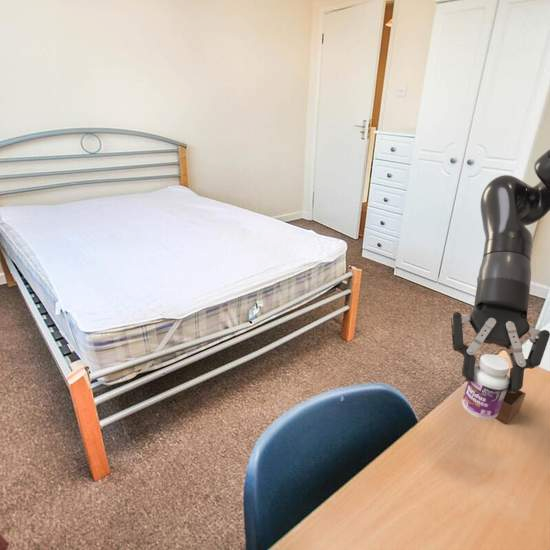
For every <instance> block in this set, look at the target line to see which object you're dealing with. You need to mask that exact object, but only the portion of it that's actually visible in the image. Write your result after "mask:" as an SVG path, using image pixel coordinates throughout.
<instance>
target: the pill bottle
mask: <svg viewBox="0 0 550 550" xmlns="http://www.w3.org/2000/svg"><path fill="white" fill-rule="evenodd" d="M510 365H511V364H510V363H509V361H508V360H507V359H505V358H504V357H502V356H499V355H497V354H493V353H484V354H482V355H481V356H480V359H479V360H478V363H477V364H475V368H474V375H473V380H472V381H471V382H468V381H467V382H466V386H465V390H464V393H463V396H462V401H461V405H462V407H463V408H464V410H465V411H466V412H467V413H468V414H469V415H471V416H472V417H474V418H477V419H479V420H484V421H491V420H494V419H495V418H496V417H497V415H498V413H499V410H500V408H501V405H502V403H503V400H504V397H505V394H506V391H507V389H508V386H509V382H510V381H509V375H508V374H509V372H510V368H511V366H510Z"/></svg>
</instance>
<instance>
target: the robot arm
mask: <svg viewBox="0 0 550 550" xmlns="http://www.w3.org/2000/svg"><path fill="white" fill-rule="evenodd" d="M533 165H534V166H533V169H534V173H535V175H536V176H537V178H538V179H539V182H538V183H537V184H536V185H534V186H532V185H531V184H529V183H527V182H525V181H523V180H521V179H520V178H517V177H515V176H513V175H509V174H502V175H499V176H497V177H495V178H493V179H492V180H491V181H489V182H488V183H487V185H486V187H485V188H484V189H483V191H482V194H481V197H480V205H479V206H480V216H481V220H482V221H481V222H482V228H483V229H482V230H483V233H484V237H485V239H484V246H483V254H482V259H481V264H480V267H479V270H478V276H477V278H476V282H477V283H476V290H475V297H474V305H473V310H472V312H471V313H470V314H461V312H458V311H455V312H454V313H453V314H452V316H451V318H450V323H451V326H450V327H451V339H452V340H451V342H452V349H453V351H454V352H458V353H460V354H461V355H462V356H463V360H462V361H463V363H462V369H461V375H462V377H464V378H465V379H464V380H465V382H467V383H468V382H471V381H472V380H473V375H474V368H475V365H476V360H477V357H476V356H475V354H476V353H477V351H478V350H479V348H480V347H481V346H482V344H483V343H484V344H488V345H496V346H499V347H501V348H504V349H505V351H506V352H505V353H506V355H507V356H508V357H509V359H510V364H511V366H512V367H510V368H509V375H508V377H509V381H510V382H509V386H508V392H510V393H516V392H517V390H520V391H521V389H522V388H523V386H524V376H525V375H524V374H525V370H526V369H528V370H529V369H530V370H531V369H532V370H533V369H534V368H536V367H539V366H541V363H542V360H543V357H544V354H545V351H546V349H547V345H548V342H549V339H550V331H549V330H547V329H542V330H540V329H537V328H535V327H532V326H531V325H530V323H529V321H528V314H529V313H528V311H529V302H530V292H531V283H532V282H531V281H532V266H531V264H532V263H531V261H532V253H533V241H534V240H533V235H532V233H531V231H530V230H529V228H527V226H531V225H533V224H535V223H537V222H539V221H540V220H542V219H543V218H544V217H545V216H546V215H547V214H548V213H549V212H550V149H548V150H547V151H545V152H544V153H543V154H541V155H540V156H539V157H538V158H537V159H536V161H534V164H533ZM468 322H469V324H470V325H471V327H472V329H473V330H474V333H475V336H474V337H473V339H472V340H471V342H470V344H469V345H466V344H465V343H464V331H463V329H464V328H465V327H466V325H467V323H468ZM526 334H527V335H528V336H529V339H528V340H529V342H530V343H531V344H532V345H531V348H530V351H529V353H528V356H527V358H525V356H524V352H523V347H522V343H521V340H520V339H521V338H522V337H524V336H525V335H526Z"/></svg>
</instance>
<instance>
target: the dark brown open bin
mask: <svg viewBox="0 0 550 550" xmlns="http://www.w3.org/2000/svg"><path fill="white" fill-rule="evenodd" d="M526 394H527V393H526V392H524V391H522V390H521V389H520V390H517V392H516V393H510V392H508V389H507V391H506V394H505V397H504V400H503V403H502V405H501V408H500V410H499V413H498V415H497V417H496V418H494V419H496V420H497V421H498V422H500V423H503V424H504V425H507V424H508V423H509V422H510V421H511V420H512V419H513V418H514V417H515V416H516V415H517V414H518V412H519V411H520V410H521V408H522V406H523V402H524V400H525V397H526Z"/></svg>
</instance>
